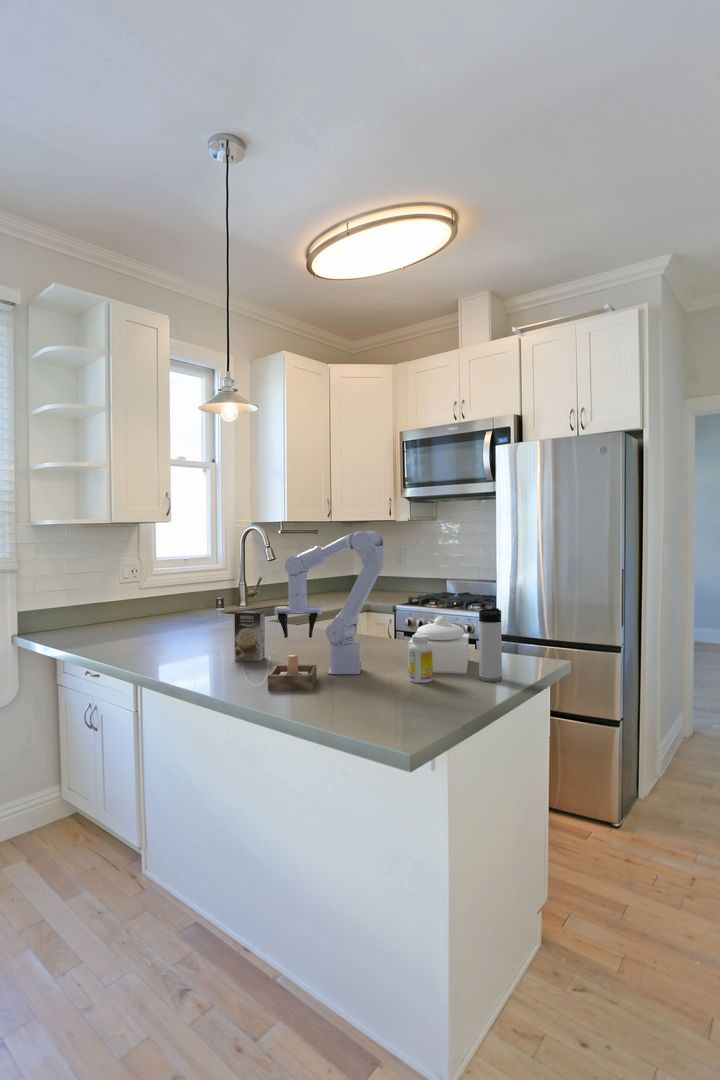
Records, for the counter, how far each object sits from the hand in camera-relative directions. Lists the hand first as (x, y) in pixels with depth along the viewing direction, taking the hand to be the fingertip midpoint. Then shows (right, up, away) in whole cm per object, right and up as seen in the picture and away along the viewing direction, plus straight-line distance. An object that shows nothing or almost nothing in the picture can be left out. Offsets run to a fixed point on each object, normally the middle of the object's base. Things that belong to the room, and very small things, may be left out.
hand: (298, 637), depth 182 cm
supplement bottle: (+37, -10, -18) cm, 42 cm away
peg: (+1, -10, -20) cm, 22 cm away
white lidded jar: (+45, -9, 0) cm, 45 cm away
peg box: (+1, -10, -20) cm, 22 cm away
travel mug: (+57, -9, -17) cm, 60 cm away
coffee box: (-18, -10, +13) cm, 24 cm away
